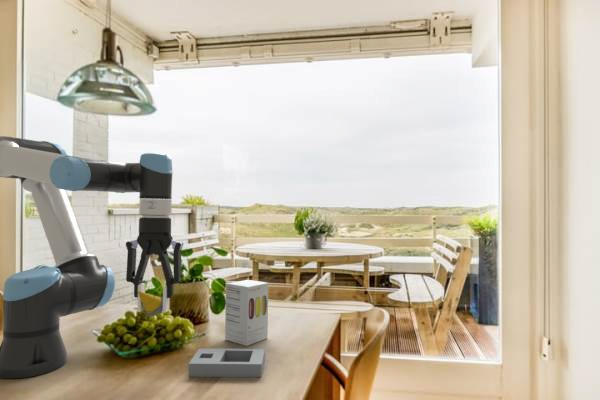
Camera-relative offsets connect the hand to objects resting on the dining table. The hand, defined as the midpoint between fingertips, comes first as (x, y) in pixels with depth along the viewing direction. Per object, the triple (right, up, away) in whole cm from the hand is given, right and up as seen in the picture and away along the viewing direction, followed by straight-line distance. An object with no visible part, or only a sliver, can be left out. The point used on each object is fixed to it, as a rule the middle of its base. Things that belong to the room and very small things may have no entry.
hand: (153, 310), depth 101 cm
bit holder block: (+19, -14, 0) cm, 23 cm away
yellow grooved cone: (0, -2, 0) cm, 2 cm away
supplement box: (+20, -15, +22) cm, 33 cm away
